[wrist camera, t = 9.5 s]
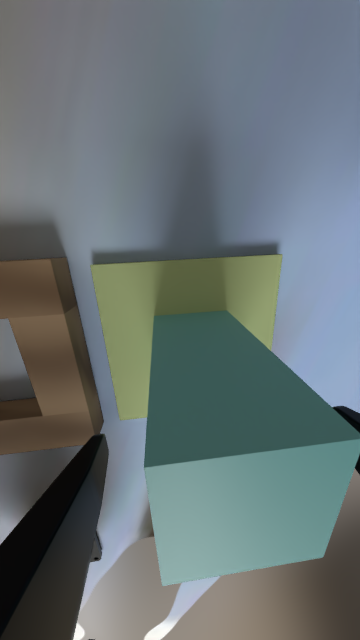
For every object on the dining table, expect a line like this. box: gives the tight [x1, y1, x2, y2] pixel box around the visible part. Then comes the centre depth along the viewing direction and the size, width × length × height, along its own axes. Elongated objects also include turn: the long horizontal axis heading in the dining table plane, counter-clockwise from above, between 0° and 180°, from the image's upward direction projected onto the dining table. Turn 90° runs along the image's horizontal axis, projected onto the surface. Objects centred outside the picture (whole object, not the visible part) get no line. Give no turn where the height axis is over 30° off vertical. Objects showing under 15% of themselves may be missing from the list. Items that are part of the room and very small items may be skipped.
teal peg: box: [144, 310, 360, 586], centre depth 10 cm, size 5×5×10 cm
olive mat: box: [90, 254, 282, 420], centre depth 15 cm, size 12×12×1 cm
